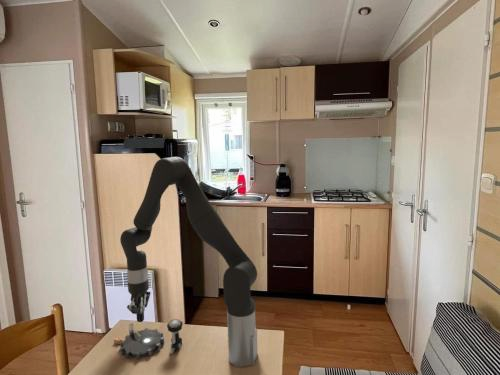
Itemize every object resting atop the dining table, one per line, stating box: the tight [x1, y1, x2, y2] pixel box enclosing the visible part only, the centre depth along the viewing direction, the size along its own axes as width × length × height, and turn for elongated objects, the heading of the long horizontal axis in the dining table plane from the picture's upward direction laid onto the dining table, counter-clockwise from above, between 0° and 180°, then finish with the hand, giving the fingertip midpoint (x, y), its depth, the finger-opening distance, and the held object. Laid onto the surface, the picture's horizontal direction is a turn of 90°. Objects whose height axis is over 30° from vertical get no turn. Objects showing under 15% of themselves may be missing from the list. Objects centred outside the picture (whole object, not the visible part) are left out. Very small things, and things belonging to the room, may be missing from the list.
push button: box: [166, 318, 183, 355], centre depth 109 cm, size 7×5×10 cm
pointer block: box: [113, 337, 123, 345], centre depth 114 cm, size 3×2×2 cm, turn 77°
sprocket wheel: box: [119, 323, 165, 360], centre depth 112 cm, size 15×15×6 cm
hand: (140, 320), depth 121 cm, fingers closed
